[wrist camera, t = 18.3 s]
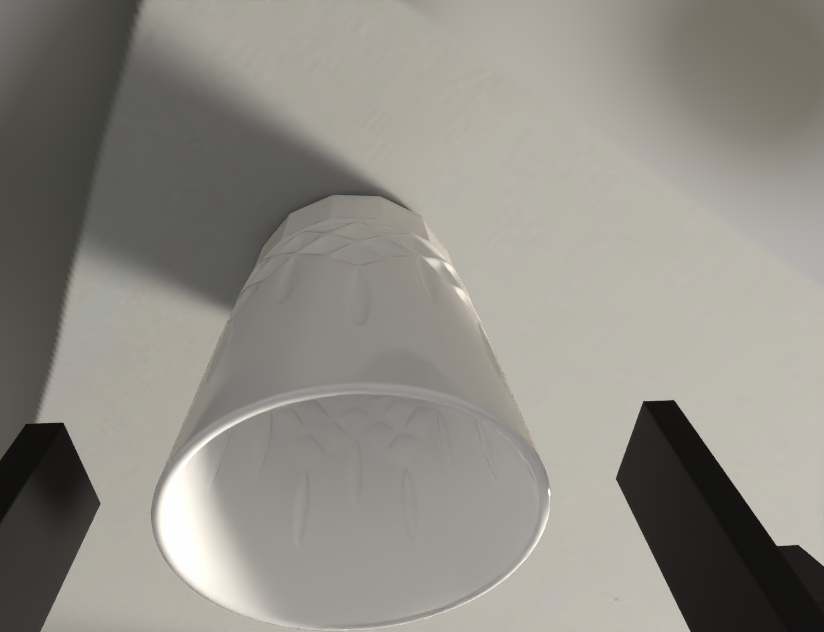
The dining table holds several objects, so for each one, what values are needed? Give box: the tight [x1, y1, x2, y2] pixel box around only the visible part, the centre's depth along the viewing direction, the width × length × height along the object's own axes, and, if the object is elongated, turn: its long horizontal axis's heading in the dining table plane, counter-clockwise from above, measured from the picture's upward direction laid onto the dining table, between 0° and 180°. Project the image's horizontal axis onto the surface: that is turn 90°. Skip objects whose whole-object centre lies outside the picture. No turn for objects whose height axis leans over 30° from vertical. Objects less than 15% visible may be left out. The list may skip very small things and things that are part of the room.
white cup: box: [151, 195, 550, 631], centre depth 15 cm, size 8×8×10 cm
